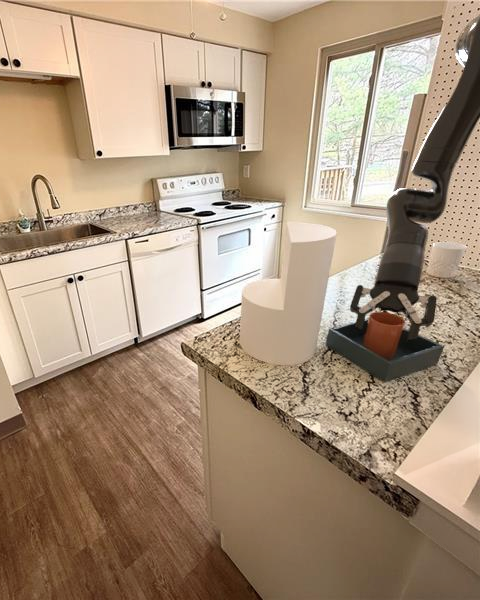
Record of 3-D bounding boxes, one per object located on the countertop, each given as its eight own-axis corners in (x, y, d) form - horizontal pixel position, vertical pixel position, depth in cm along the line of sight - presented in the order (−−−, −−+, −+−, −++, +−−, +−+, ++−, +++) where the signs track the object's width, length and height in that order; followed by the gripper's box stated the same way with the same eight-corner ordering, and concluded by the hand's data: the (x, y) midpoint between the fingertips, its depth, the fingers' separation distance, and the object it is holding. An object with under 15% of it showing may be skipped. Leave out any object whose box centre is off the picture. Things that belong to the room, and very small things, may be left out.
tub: (372, 331, 77) (377, 315, 75) (437, 364, 64) (444, 346, 62) (325, 345, 74) (328, 328, 72) (384, 382, 61) (389, 364, 59)
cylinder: (311, 329, 80) (329, 221, 68) (320, 370, 66) (345, 242, 54) (241, 323, 86) (247, 222, 74) (236, 359, 72) (242, 242, 60)
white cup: (454, 280, 98) (465, 250, 94) (422, 275, 103) (431, 246, 99) (457, 273, 102) (468, 243, 98) (426, 268, 108) (435, 240, 104)
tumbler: (375, 341, 72) (384, 309, 69) (401, 355, 67) (412, 322, 63) (355, 348, 71) (362, 315, 67) (380, 362, 66) (390, 328, 62)
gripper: (362, 257, 70) (344, 323, 67) (448, 265, 62) (432, 341, 59) (360, 271, 76) (344, 332, 73) (438, 280, 68) (423, 350, 65)
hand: (383, 336), depth 66 cm, fingers open, 8 cm apart
